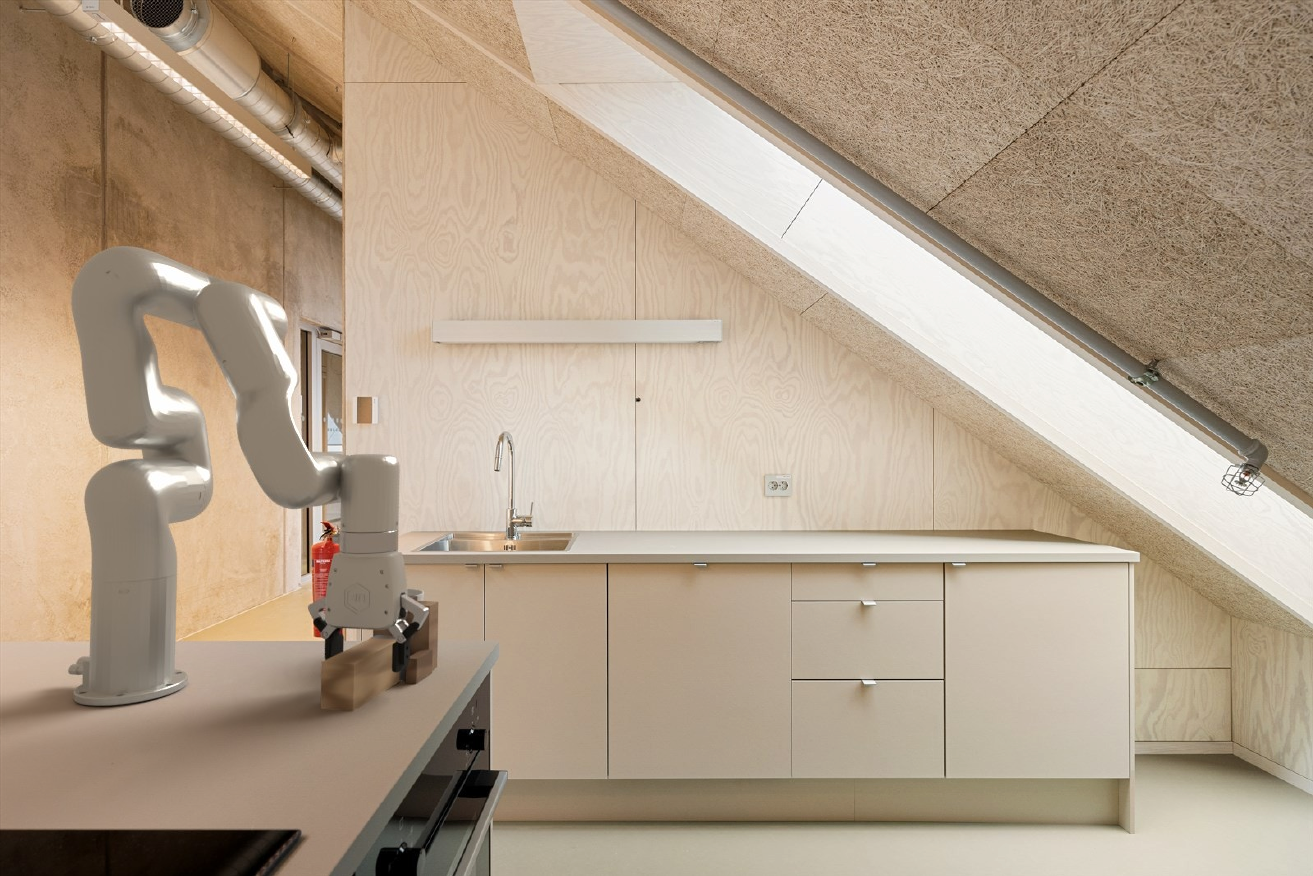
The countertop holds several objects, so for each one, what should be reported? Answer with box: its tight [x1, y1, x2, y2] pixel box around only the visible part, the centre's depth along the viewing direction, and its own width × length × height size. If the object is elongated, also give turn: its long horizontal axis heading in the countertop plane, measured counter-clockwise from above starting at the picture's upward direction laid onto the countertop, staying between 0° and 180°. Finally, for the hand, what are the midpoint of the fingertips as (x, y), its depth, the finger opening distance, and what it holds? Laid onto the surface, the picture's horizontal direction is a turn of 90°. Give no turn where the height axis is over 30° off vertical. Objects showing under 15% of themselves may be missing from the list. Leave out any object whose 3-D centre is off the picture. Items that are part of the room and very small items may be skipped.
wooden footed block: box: [372, 596, 439, 684], centre depth 108 cm, size 10×8×11 cm
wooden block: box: [320, 635, 406, 712], centre depth 100 cm, size 5×14×6 cm, turn 172°
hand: (366, 667), depth 100 cm, fingers open, 9 cm apart
